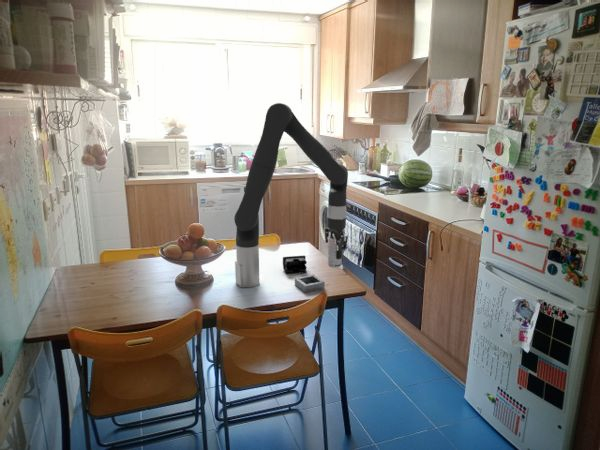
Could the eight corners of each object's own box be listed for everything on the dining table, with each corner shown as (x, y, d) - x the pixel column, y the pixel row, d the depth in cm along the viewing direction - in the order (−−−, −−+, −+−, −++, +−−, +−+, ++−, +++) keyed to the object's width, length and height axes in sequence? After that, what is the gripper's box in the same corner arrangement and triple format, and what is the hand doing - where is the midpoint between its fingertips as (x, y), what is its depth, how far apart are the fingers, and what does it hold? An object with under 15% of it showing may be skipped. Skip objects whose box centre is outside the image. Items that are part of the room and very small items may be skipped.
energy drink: (343, 265, 182) (344, 237, 178) (337, 269, 177) (338, 240, 174) (331, 262, 184) (332, 234, 181) (325, 266, 180) (326, 238, 176)
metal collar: (305, 293, 177) (305, 286, 177) (294, 285, 185) (294, 278, 184) (324, 288, 182) (324, 282, 181) (313, 281, 189) (313, 274, 188)
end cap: (303, 267, 205) (304, 253, 203) (307, 273, 199) (307, 258, 197) (282, 269, 203) (282, 255, 201) (285, 274, 197) (285, 260, 195)
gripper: (319, 212, 179) (317, 252, 184) (338, 221, 167) (336, 263, 172) (334, 211, 183) (333, 250, 187) (354, 219, 171) (352, 260, 175)
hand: (334, 256), depth 179 cm, fingers closed on energy drink, 5 cm apart
